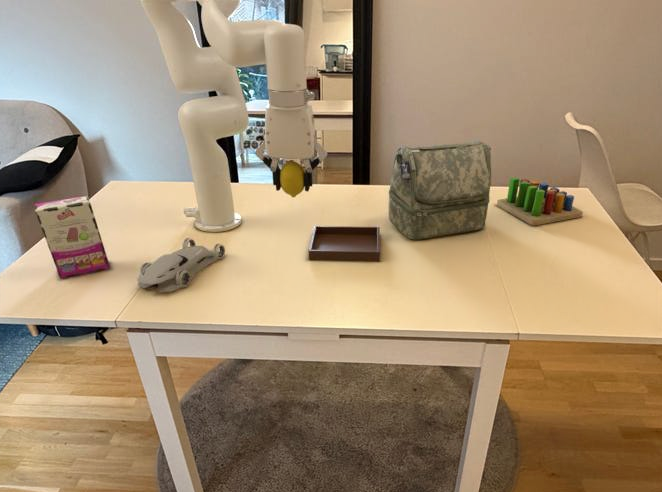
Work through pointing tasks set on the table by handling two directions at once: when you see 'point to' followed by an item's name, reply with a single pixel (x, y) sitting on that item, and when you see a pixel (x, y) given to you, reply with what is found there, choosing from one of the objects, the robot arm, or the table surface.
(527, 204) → the peg board
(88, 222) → the candy bar box
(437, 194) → the lunch bag
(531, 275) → the table surface
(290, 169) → the lemon
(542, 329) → the table surface
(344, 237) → the walnut tray
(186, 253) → the car model
